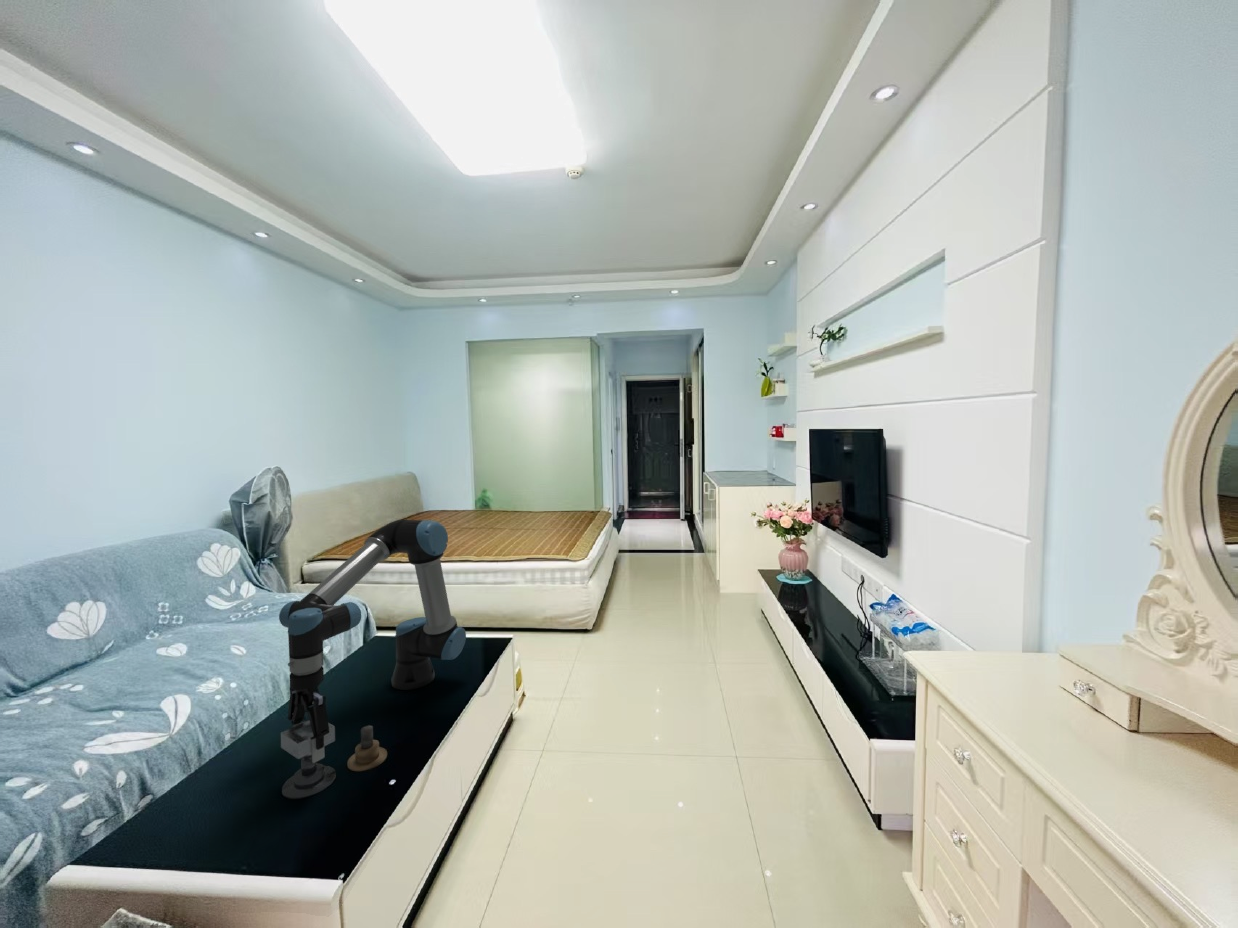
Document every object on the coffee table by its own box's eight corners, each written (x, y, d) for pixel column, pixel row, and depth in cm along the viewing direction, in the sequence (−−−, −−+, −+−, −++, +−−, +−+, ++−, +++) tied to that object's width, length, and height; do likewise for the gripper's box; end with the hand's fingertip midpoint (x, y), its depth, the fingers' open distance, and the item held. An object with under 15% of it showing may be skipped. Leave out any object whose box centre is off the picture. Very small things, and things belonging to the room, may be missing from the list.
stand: (373, 744, 145) (373, 715, 144) (394, 755, 139) (393, 725, 139) (339, 763, 136) (339, 732, 136) (360, 775, 131) (359, 743, 131)
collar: (317, 730, 134) (317, 716, 134) (335, 740, 129) (334, 726, 129) (281, 747, 127) (280, 732, 126) (298, 759, 122) (297, 743, 122)
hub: (321, 762, 137) (320, 729, 136) (345, 777, 130) (344, 742, 130) (273, 788, 126) (272, 752, 126) (296, 805, 120) (295, 767, 120)
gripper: (271, 665, 130) (273, 747, 131) (312, 685, 118) (314, 776, 119) (301, 655, 136) (303, 733, 137) (343, 673, 125) (345, 759, 125)
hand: (308, 753), depth 128 cm, fingers closed on collar, 9 cm apart
